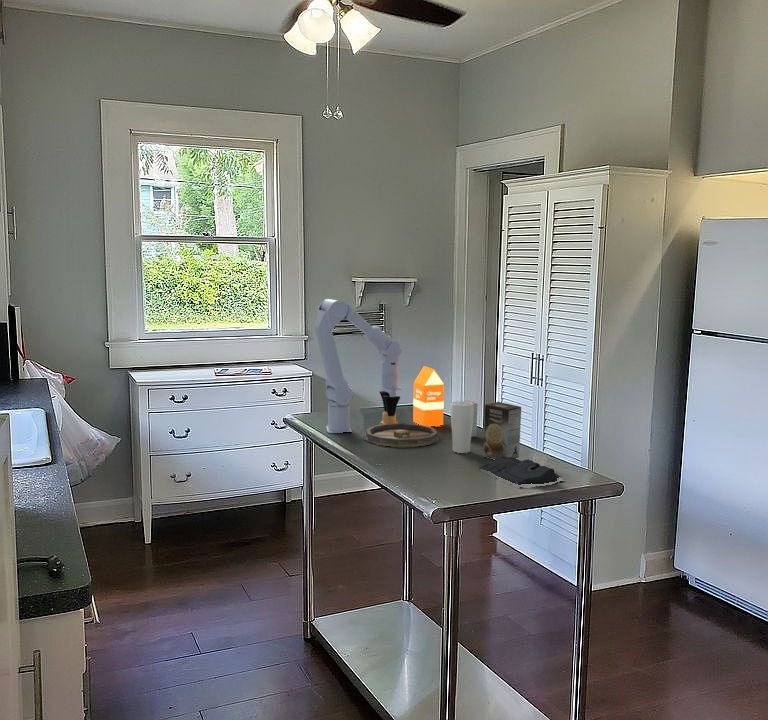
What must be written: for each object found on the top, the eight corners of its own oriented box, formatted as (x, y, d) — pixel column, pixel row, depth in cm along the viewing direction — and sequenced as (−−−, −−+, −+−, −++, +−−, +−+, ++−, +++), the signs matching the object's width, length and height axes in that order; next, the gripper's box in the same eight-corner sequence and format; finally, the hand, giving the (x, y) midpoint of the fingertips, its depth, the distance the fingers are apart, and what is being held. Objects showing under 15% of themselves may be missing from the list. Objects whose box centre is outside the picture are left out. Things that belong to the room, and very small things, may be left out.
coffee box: (482, 457, 230) (483, 404, 228) (496, 454, 235) (497, 401, 232) (506, 464, 224) (508, 408, 221) (520, 460, 228) (522, 406, 226)
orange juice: (423, 427, 269) (424, 369, 266) (412, 422, 277) (413, 366, 274) (443, 425, 272) (444, 368, 269) (432, 420, 280) (433, 365, 277)
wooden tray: (360, 430, 263) (360, 423, 262) (430, 429, 266) (430, 421, 266) (369, 448, 239) (369, 440, 239) (446, 446, 243) (446, 438, 243)
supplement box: (477, 437, 255) (478, 403, 253) (461, 439, 252) (462, 404, 251) (467, 434, 260) (468, 400, 258) (452, 435, 257) (453, 401, 256)
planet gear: (378, 423, 274) (378, 411, 273) (396, 423, 275) (396, 410, 274) (381, 427, 268) (381, 414, 267) (399, 427, 269) (400, 414, 268)
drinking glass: (476, 454, 234) (477, 404, 232) (454, 455, 232) (456, 405, 230) (467, 448, 241) (468, 400, 239) (446, 449, 239) (447, 401, 237)
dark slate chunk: (517, 464, 225) (517, 448, 225) (569, 484, 206) (569, 467, 206) (473, 471, 218) (473, 454, 218) (522, 492, 199) (523, 474, 198)
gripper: (404, 378, 262) (404, 417, 264) (397, 371, 277) (397, 409, 278) (384, 378, 261) (383, 418, 263) (377, 371, 275) (377, 409, 277)
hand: (389, 413), depth 271 cm, fingers open, 7 cm apart
